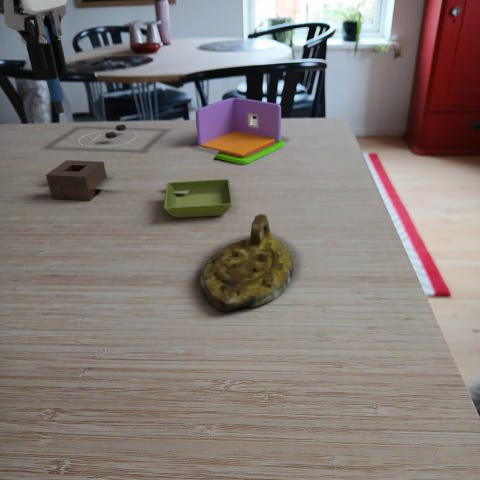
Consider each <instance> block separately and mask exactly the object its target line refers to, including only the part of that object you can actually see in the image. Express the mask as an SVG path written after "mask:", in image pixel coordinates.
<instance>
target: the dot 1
mask: <svg viewBox="0 0 480 480" xmlns="http://www.w3.org/2000/svg"><path fill="white" fill-rule="evenodd" d="M104 136H105V139H109V140H110V139H115V138H117V133H116V132H115V131H109V132H108V131H107V132H106V133H105V134H104Z"/></svg>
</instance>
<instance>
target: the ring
mask: <svg viewBox="0 0 480 480" xmlns="http://www.w3.org/2000/svg"><path fill="white" fill-rule="evenodd" d="M106 131H107V132H108V131H109V132H110V129H103V130H98V131H94V132H90V133H88V134H85V135H82V136H81V137H79V139H78V141H77V144H79V145H80V146H81V147H84V148H85V147H86V148H91V149H92V148H93V149H105V148H113V147H118V146H123V145H126V144H129V143H131V142H134V141H135V140H137V138H138V133H137V132H135V131H133V130H130V129H129V130H128V129H126V130H123V131H125V132H130V133H132V134H134V137H133V138H132V139H131V140H129V141H126V142H123V143H120V144H115V145H109V146H108V145H107V146H90V145H86V144H83V143H81V140H82V139H83V138H85V137H86V136H89V135H92V134H95V133H101V132H106ZM111 131H117V130H116V128H112V129H111ZM101 136H102V134H99V135H98V136H96V137H95V138H93V139H92V140H91V142H94V141H95V140H97V139H98V138H100V137H101Z"/></svg>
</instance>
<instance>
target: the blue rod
mask: <svg viewBox="0 0 480 480" xmlns="http://www.w3.org/2000/svg"><path fill="white" fill-rule="evenodd" d="M44 27H45V31H46V36H47V43H51V42H50V38H49V34H48V29H47V27H46V26H44ZM45 81H46V86H47V90H48V94H49V98H50V101H51V102H52V103H53V104H54V108H55V109H54V110H55V112H56V114H63V113H64V112H65V110H64V106H63V101H64V95H63V91H62V85H61V82H60V78H59V76H58V78H57V79H45Z"/></svg>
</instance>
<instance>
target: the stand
mask: <svg viewBox="0 0 480 480" xmlns="http://www.w3.org/2000/svg"><path fill="white" fill-rule="evenodd" d="M45 177H46V182H47V185H48V189H49V194H50V196H51V199H52V200H53V199H54V200H71V201H72V200H73V201H85V202H86V201H87V202H90V201H92V200H93V199H94V198H96V197H97V196H98V195H99V194H100V193H101V192H102V191H103V188H98V186H100V185H101V184H102V183H103V182H104V181H105V180H106V179H107V178H108V177H107V171H106V167H105V162H104V161H100V160H99V161H96V160H95V161H94V160H72V159H66V160H64V161H63V162H62V163H60V164H59V165H58V166H56V167H55V168H53V169H52V170H50V171H49V172H48V173H46V174H45Z"/></svg>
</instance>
